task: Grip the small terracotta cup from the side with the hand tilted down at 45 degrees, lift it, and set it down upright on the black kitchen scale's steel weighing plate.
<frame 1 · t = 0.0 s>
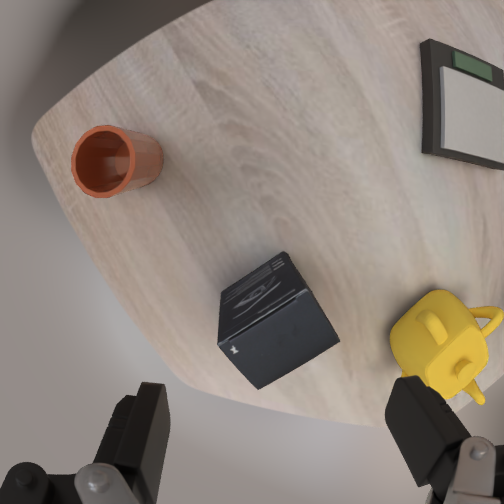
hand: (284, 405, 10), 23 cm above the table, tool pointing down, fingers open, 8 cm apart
teapot: (426, 331, 36), on the table
box: (266, 290, 33), on the table
cup: (137, 160, 29), on the table
scale: (462, 107, 28), on the table
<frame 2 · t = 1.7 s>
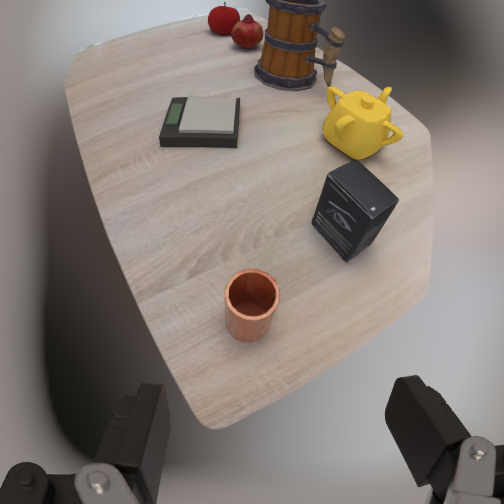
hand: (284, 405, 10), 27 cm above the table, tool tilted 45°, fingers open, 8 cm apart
fruit: (246, 47, 72), on the table
teapot: (354, 140, 56), on the table
box: (340, 234, 45), on the table
cup: (247, 320, 38), on the table
mug: (293, 79, 65), on the table
scale: (202, 124, 55), on the table
apple: (223, 32, 77), on the table
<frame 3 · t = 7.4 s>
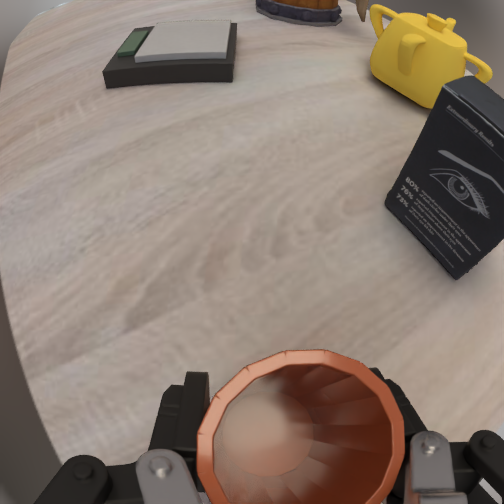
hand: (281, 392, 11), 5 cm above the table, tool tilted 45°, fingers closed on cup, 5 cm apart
teapot: (412, 86, 32), on the table
box: (434, 226, 21), on the table
cup: (267, 434, 14), on the table, touching gripper
mug: (310, 16, 41), on the table
scale: (176, 57, 31), on the table
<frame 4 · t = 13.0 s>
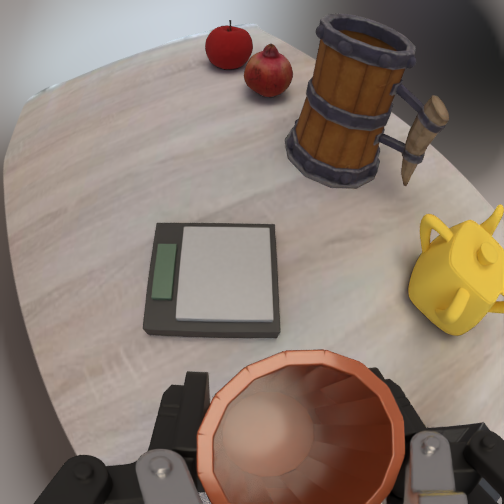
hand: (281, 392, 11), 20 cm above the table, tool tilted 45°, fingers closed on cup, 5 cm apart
fruit: (266, 94, 52), on the table
teapot: (442, 288, 35), on the table
box: (422, 466, 25), on the table
cup: (267, 434, 14), point 15 cm above the table, touching gripper
mug: (346, 161, 44), on the table
scale: (213, 282, 34), on the table
apple: (228, 65, 57), on the table
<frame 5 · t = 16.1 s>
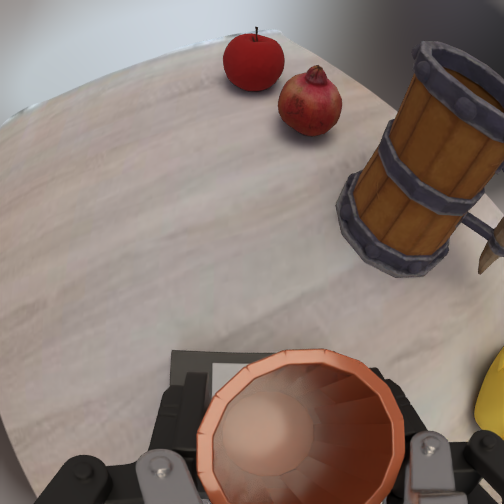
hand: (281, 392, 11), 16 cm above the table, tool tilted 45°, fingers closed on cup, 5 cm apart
fruit: (304, 130, 41), on the table
teapot: (503, 394, 25), on the table
cup: (267, 433, 14), point 10 cm above the table, touching gripper
mug: (410, 235, 34), on the table
scale: (253, 427, 23), on the table
apple: (251, 85, 46), on the table
when the fingers open (8 cm above the table, at t = 18.6 s): cup stays where it is, resting on scale.
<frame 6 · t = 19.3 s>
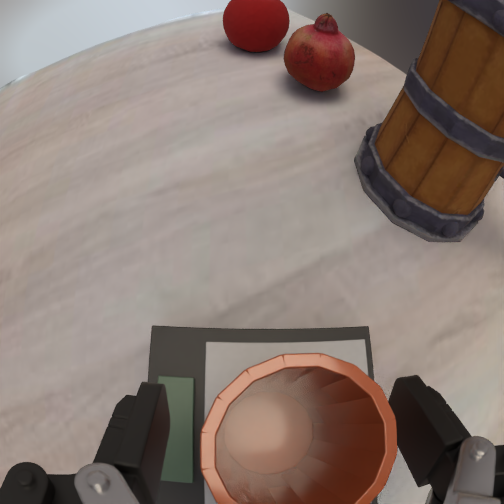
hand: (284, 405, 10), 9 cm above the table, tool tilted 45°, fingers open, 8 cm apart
fruit: (313, 88, 35), on the table
cup: (268, 432, 15), point 3 cm above the table, touching scale
mug: (439, 196, 28), on the table
scale: (261, 430, 17), on the table
apple: (253, 47, 40), on the table
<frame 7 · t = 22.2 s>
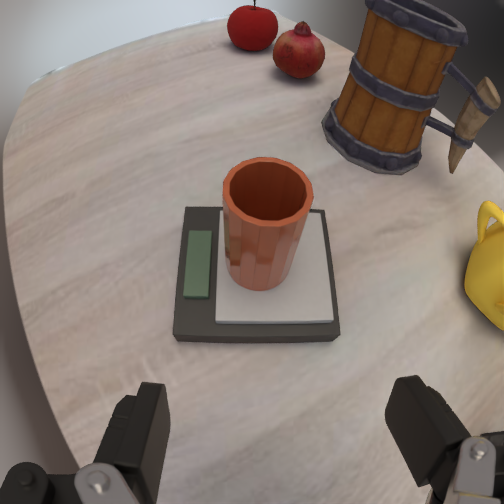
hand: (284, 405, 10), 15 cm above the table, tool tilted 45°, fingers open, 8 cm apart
fruit: (295, 76, 46), on the table
teapot: (493, 282, 30), on the table
box: (480, 474, 19), on the table
cup: (258, 261, 26), point 3 cm above the table, touching scale
mug: (387, 146, 39), on the table
scale: (255, 276, 29), on the table
apple: (251, 47, 51), on the table
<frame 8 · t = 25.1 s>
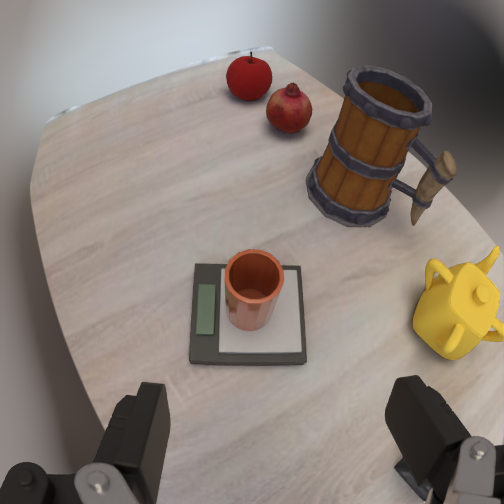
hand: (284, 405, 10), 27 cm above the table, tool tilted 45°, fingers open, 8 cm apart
fruit: (285, 129, 56), on the table
teapot: (442, 317, 40), on the table
box: (421, 469, 30), on the table
cup: (249, 308, 36), point 3 cm above the table, touching scale
mug: (360, 200, 49), on the table
scale: (247, 317, 39), on the table
apple: (247, 95, 61), on the table
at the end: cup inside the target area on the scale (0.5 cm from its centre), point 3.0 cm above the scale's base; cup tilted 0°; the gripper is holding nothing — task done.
